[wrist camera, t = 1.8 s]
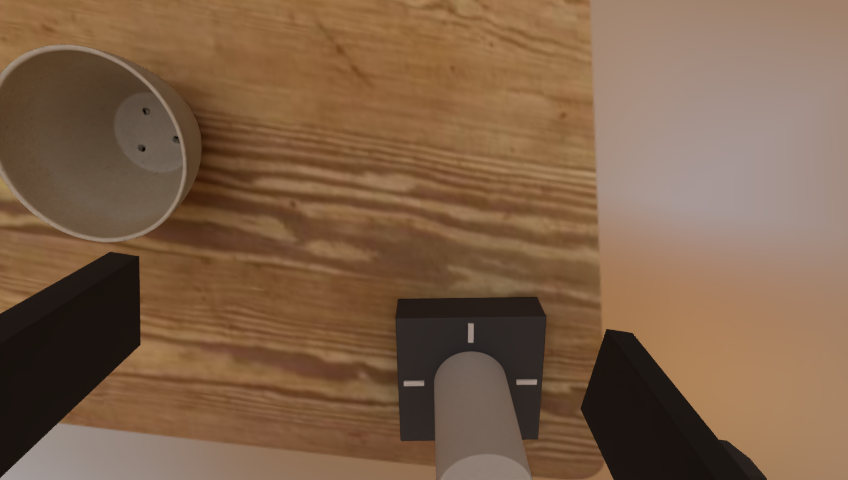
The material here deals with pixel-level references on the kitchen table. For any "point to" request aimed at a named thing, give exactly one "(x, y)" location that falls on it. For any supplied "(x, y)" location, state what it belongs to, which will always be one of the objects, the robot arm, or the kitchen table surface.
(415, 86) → the kitchen table surface
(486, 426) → the timer knob
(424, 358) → the panel
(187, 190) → the flower pot
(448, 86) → the kitchen table surface
